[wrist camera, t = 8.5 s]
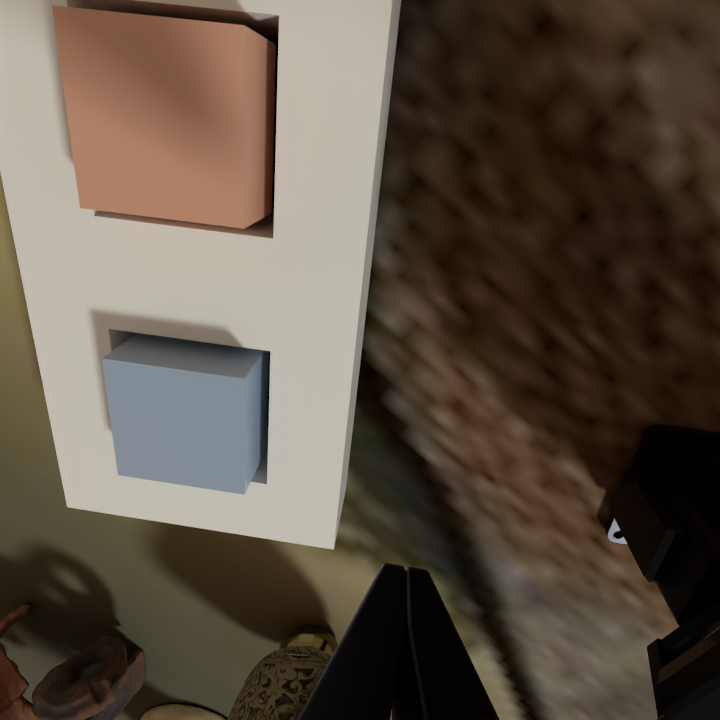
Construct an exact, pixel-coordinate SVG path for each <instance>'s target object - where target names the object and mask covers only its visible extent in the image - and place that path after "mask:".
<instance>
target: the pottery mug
mask: <svg viewBox="0 0 720 720" xmlns="http://www.w3.org/2000/svg"><path fill="white" fill-rule="evenodd" d="M29 610H30V605H23V606H21V607H19V608H18V609H17V610H16V611H13V612H11V613H9V614H8V615H7V616H6V617H5V618H4V619H2V620H0V638H1V637H2V635H3V634H4V633H5V632H6V630H7V629H8V628H9V627H10V626H12V625H13V624H14V623H15V622H17V621H18V620H19V619H21V618H22V617H24V616H25V615H26V614H28V612H29ZM145 675H146V666H145V658H144V653H143V651H142V650H140V649H139V650H137V651H136V652H135V653H134V654H133V656H132V657H131V659H130V660H129V661H127V651H126V645H125V643H124V642H123V641H122V640H120V639H119V638H117V637H115V636H114V635H112V634H109V633H104V634H103V635H102V636H101V637H100V638H99V639H97V640H95V641H94V642H93V643H92V644H90V645H89V646H88V647H87V648H86V649H85V650H83V651H82V652H81V653H80V654H78V655H75V656H73V657H71V658H69V659H68V660H67V661H66V662H64V663H63V664H61V665H58V666H56V667H55V668H53V669H52V670H50V671H49V672H48V674H47V675H46V676H45V678H44V679H43V680H42V681H41V682H40V683H39V684H38V685H37V686H36V688H35V689H34V691H33V694H32V701H33V704H32V703H30V702H29V701H28V700H27V699H25V698H24V697H23V696H22V695H23V693H25V691H26V689H27V688H28V687H29V683H28V682H27V680H26V679H25V678H24V677H23V676H22V675H21V674H20V672H19V670H18V667H17V665H16V664H15V663H14V661H12V660H10V659H9V658H8V657H7V655H6V650H5V648H4V646H3V645H2V644H1V643H0V720H113V719H115V718H116V717H118V716H119V715H120V713H121V711H122V710H123V709H124V708H125V707H126V705H127V703H128V702H129V701H130V700H131V698H132V697H133V696H134V694H136V693H137V692H138V691H139V690H140V688H141V687H142V685H143V683H144V679H145Z"/></svg>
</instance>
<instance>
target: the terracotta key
mask: <svg viewBox="0 0 720 720" xmlns="http://www.w3.org/2000/svg"><path fill="white" fill-rule="evenodd" d="M52 9H53V16H54V23H55V30H56V38H57V45H58V52H59V59H60V67H61V74H62V81H63V88H64V96H65V103H66V110H67V117H68V124H69V132H70V139H71V146H72V153H73V161H74V168H75V175H76V182H77V190H78V197H79V204H80V208H83V209H91V210H99V211H107V212H115V213H123V214H131V215H139V216H147V217H154V218H162V219H170V220H178V221H186V222H194V223H202V224H210V225H218V226H226V227H234V228H242V229H245V228H247V227H248V226H250V225H252V224H254V223H255V222H257V221H259V220H261V219H263V218H264V217H266V216H268V215H270V214H272V183H273V141H274V99H275V57H276V44H274V43H273V42H271V41H269V40H268V39H266V38H264V37H263V36H261V35H260V34H258V33H256V32H255V31H253V30H251V29H250V28H248V27H247V26H245V25H238V24H228V23H218V22H209V21H199V20H189V19H180V18H170V17H160V16H151V15H141V14H131V13H122V12H112V11H102V10H93V9H83V8H73V7H64V6H54V5H52Z"/></svg>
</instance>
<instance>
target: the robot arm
mask: <svg viewBox="0 0 720 720" xmlns="http://www.w3.org/2000/svg"><path fill="white" fill-rule="evenodd" d="M659 434H663V435H662V436H661V437H660V438H658V439H654V438H655V437H656V436H657V435H659ZM610 511H611V515H610V517H609V519H608V522H607V524H606V526H605V532H606V534H607V536H608V538H609V540H611V541H612V542H615V543H622V544H628V546H629V548H630V550H631V552H632V554H633V556H634V558H635V560H636V562H637V564H638V566H639V568H640V570H641V572H642V574H643V575H644V577H645V578H646V579H647V581H648V582H653V583H656V584H657V586H658V588H659V589H660V591H661V593H662V595H663V597H664V599H665V601H666V603H667V605H668V607H669V608H670V610H671V612H672V614H673V616H674V618H675V620H676V622H677V623H678V625H679V627H678V628H677V629H675V630H674V631H673V632H671V633H670V634H668V635H667V636H666V637H664V638H663V639H662V640H661V639H656V640H655V641H654V642H652V643H651V644H650V645H648V646H647V651H648V657H649V664H650V670H651V677H652V683H653V689H654V696H655V702H656V709H657V715H658V719H657V720H720V433H718V432H710V431H703V430H696V429H689V428H682V427H675V426H668V425H653V426H651V427H649V428H648V429H647V430H646V432H645V433H644V436H643V438H642V440H641V443H640V445H639V448H638V450H637V452H636V455H635V457H634V460H633V462H632V464H631V466H630V467H629V468H627V470H626V472H625V475H624V477H623V479H622V482H621V484H620V487H619V489H618V491H617V494H616V496H615V499H614V501H613V503H612V506H611V508H610ZM616 531H619V532H617V533H614V532H616ZM391 709H392V720H499V718H498V716H497V713H496V711H495V709H494V707H493V705H492V703H491V701H490V699H489V697H488V695H487V693H486V690H485V688H484V686H483V684H482V682H481V680H480V678H479V676H478V674H477V672H476V670H475V668H474V665H473V663H472V661H471V659H470V657H469V655H468V653H467V651H466V649H465V647H464V645H463V642H462V640H461V638H460V636H459V634H458V632H457V630H456V628H455V626H454V624H453V622H452V620H451V617H450V615H449V613H448V611H447V609H446V607H445V605H444V603H443V601H442V599H441V597H440V594H439V592H438V590H437V588H436V586H435V584H434V582H433V580H432V578H431V576H430V574H429V572H428V571H427V570H425V569H420V568H414V567H407V568H406V569H404V567H403V566H401V565H395V564H388V563H385V564H383V565H382V566H381V568H380V570H379V572H378V573H377V575H376V577H375V579H374V581H373V583H372V584H371V586H370V588H369V590H368V592H367V594H366V595H365V597H364V599H363V601H362V603H361V604H360V606H359V608H358V610H357V612H356V614H355V615H354V617H353V619H352V621H351V623H350V625H349V626H348V628H347V630H346V632H345V634H344V636H343V637H342V639H341V641H340V643H339V645H338V647H337V648H336V650H335V652H334V654H333V656H332V658H331V659H330V661H329V663H328V665H327V667H326V669H325V670H324V672H323V674H322V676H321V678H320V680H319V681H318V683H317V685H316V687H315V689H314V690H313V692H312V694H311V696H310V698H309V700H308V701H307V703H306V705H305V707H304V709H303V711H302V712H301V714H300V716H299V718H298V720H390V715H391Z"/></svg>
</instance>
